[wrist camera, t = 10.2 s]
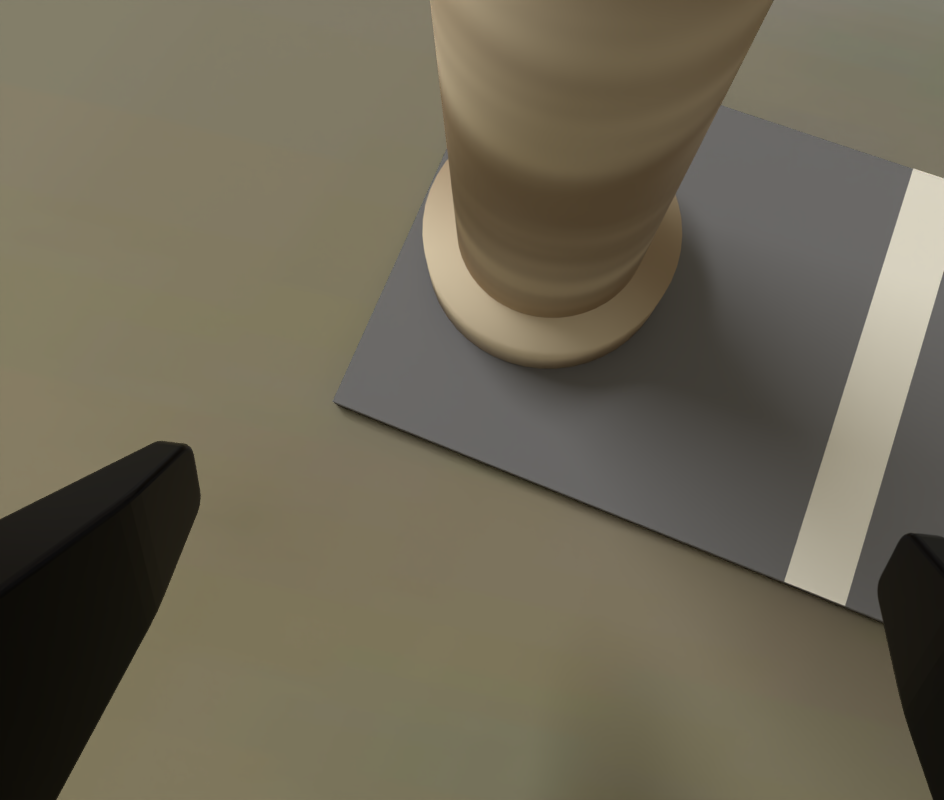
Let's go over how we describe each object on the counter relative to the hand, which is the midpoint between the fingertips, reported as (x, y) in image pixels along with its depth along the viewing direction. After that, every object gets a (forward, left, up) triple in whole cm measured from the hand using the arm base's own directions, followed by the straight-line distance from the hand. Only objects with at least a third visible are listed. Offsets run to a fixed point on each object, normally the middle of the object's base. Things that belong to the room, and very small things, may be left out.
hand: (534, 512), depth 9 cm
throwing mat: (+9, -2, -8) cm, 13 cm away
